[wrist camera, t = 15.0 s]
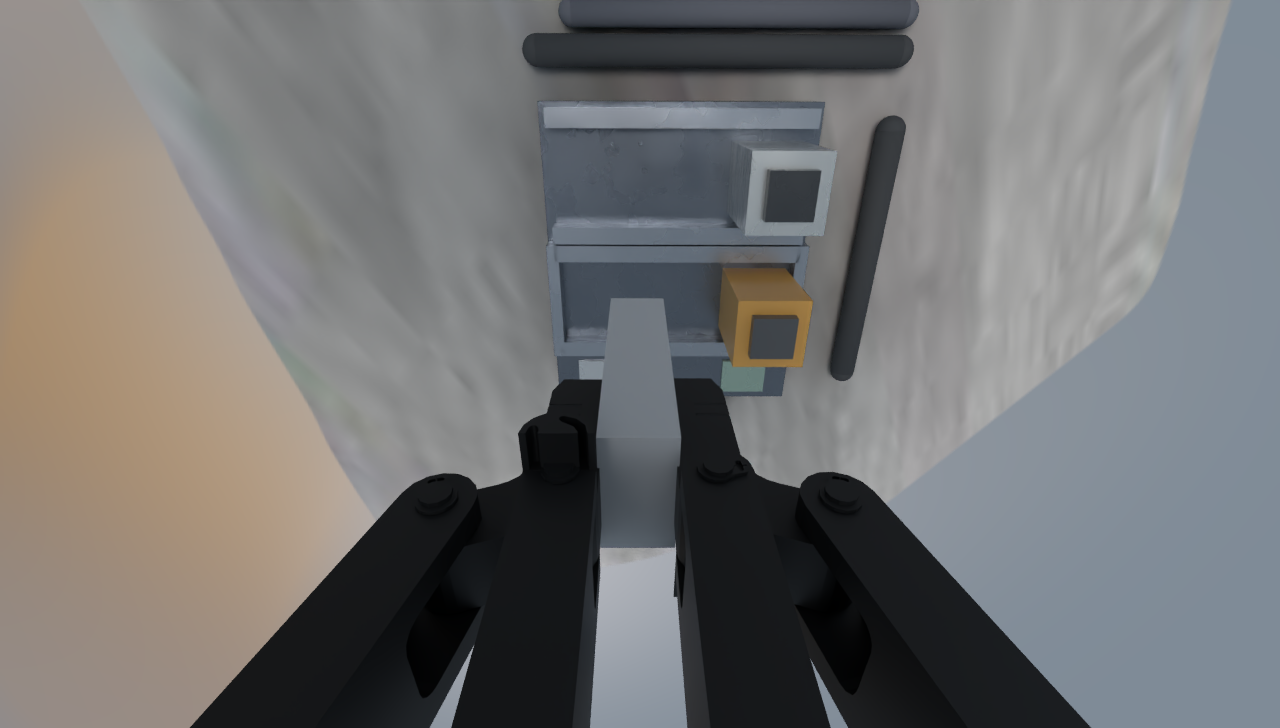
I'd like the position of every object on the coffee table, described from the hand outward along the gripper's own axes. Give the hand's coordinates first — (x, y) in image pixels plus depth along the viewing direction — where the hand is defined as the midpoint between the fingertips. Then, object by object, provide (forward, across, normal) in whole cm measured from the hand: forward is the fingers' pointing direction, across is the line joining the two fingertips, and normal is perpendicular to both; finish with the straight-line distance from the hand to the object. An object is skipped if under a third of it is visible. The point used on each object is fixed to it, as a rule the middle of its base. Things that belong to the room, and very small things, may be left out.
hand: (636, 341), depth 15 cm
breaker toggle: (+18, +8, -6) cm, 21 cm away
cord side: (+20, +15, -4) cm, 26 cm away
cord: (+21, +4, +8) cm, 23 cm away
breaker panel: (+20, +3, -4) cm, 21 cm away
